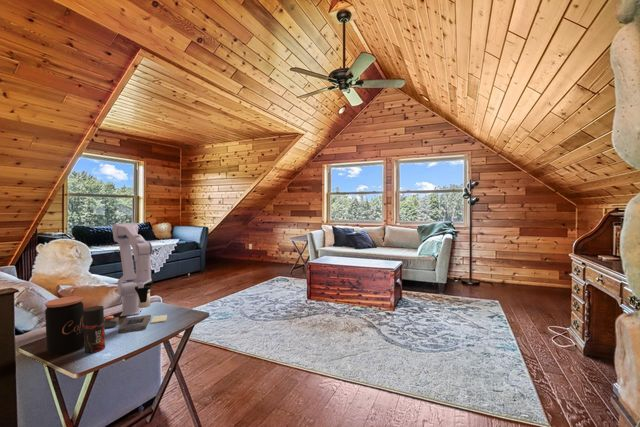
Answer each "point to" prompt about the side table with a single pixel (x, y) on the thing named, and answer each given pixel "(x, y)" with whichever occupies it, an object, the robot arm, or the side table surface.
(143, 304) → the cartridge
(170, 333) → the side table surface
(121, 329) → the housing
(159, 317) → the tray
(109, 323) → the console
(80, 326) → the coffee jar
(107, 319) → the plunger
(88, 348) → the deodorant
